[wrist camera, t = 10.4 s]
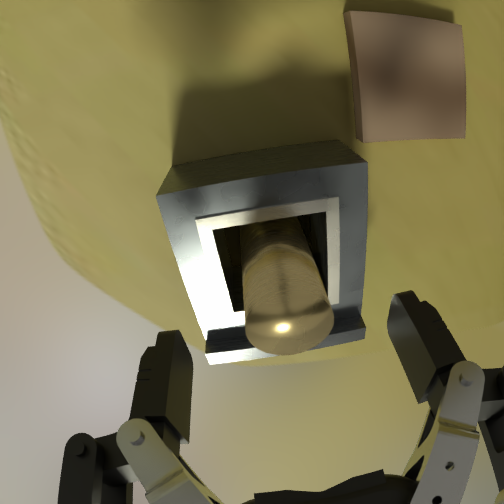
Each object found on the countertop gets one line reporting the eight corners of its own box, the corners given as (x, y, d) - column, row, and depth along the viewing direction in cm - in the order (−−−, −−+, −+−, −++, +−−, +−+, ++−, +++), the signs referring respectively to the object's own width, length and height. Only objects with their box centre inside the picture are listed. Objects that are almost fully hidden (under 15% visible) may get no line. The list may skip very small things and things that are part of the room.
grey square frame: (171, 166, 16) (150, 206, 12) (339, 139, 16) (376, 170, 12) (212, 306, 22) (209, 364, 17) (341, 285, 21) (364, 338, 17)
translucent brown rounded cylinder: (234, 203, 18) (237, 301, 11) (295, 194, 18) (334, 286, 11) (244, 254, 19) (252, 360, 13) (300, 245, 19) (333, 347, 13)
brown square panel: (343, 13, 12) (350, 10, 11) (451, 25, 12) (461, 25, 11) (356, 138, 16) (363, 142, 15) (455, 133, 16) (465, 138, 15)
